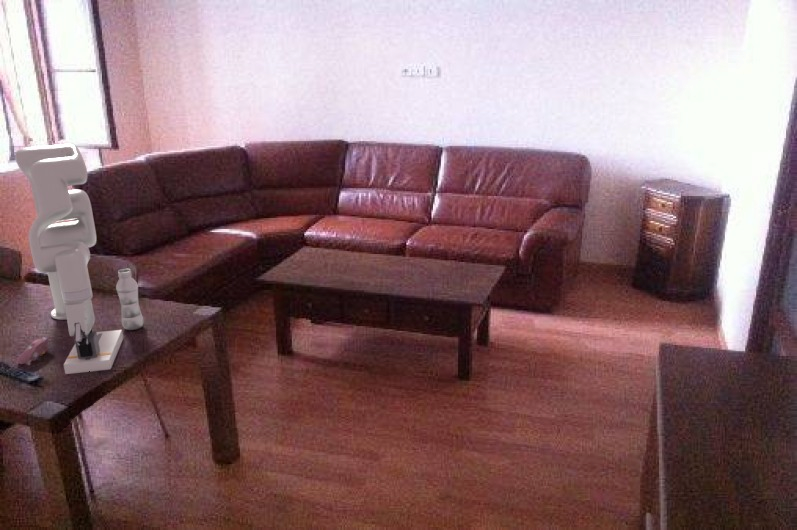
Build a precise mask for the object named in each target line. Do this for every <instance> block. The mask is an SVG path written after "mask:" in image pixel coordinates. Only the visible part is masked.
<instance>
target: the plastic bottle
mask: <svg viewBox="0 0 797 530" xmlns="http://www.w3.org/2000/svg"><path fill="white" fill-rule="evenodd" d="M117 273H118V276H117V277H118V278H119V279H118V281H117V283H116V285H115V290H116V293H117V295H118V298H119V303H120V307H121V308H120V309H121V324H122V328H124V329H125V330H126V331H135V330H138V329H141V328H142V327H143V324H144V317H143V315H142V311H141V307H140V304H139V285H138V282H137V281H136V280H135V279H134V278H133V277H132V271H131V269H130V268H122V269H119V270H118V271H117Z"/></svg>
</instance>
